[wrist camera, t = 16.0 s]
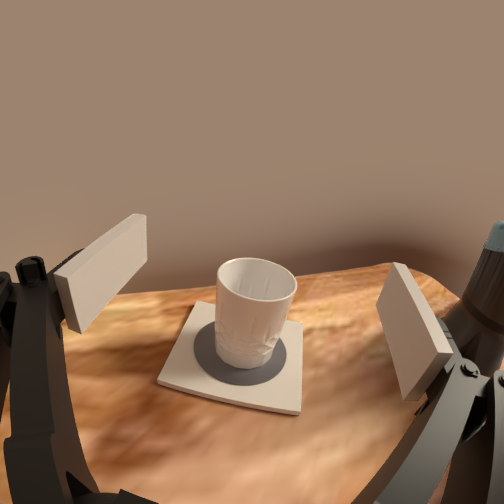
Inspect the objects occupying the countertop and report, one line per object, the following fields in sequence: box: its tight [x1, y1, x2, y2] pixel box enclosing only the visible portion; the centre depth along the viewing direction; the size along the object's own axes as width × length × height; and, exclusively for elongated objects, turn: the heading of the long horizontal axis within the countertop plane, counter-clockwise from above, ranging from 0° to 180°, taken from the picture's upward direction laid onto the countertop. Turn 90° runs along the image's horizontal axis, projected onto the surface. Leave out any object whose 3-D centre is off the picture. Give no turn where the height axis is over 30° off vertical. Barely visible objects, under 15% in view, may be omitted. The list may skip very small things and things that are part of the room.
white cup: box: [215, 258, 297, 369], centre depth 31 cm, size 8×8×10 cm
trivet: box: [157, 300, 303, 416], centre depth 33 cm, size 15×15×1 cm
